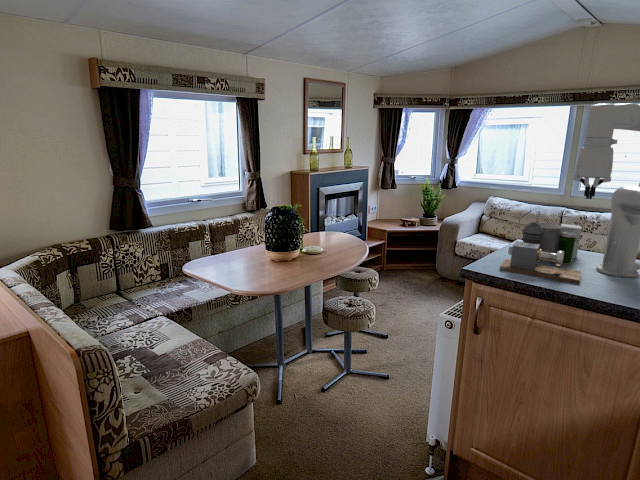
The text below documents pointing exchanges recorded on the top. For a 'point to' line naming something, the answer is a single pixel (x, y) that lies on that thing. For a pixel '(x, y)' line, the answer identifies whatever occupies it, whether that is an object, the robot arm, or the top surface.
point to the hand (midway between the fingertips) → (588, 198)
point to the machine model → (536, 265)
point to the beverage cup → (532, 232)
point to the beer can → (567, 246)
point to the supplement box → (573, 229)
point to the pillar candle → (550, 237)
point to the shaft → (547, 256)
